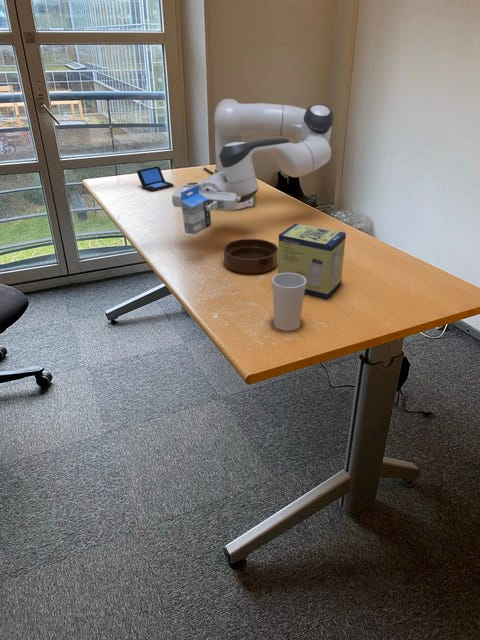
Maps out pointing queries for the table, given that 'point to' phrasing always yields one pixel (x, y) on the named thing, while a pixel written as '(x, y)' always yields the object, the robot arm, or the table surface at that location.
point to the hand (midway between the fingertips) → (198, 208)
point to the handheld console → (152, 179)
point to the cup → (288, 300)
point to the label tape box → (195, 211)
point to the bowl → (250, 255)
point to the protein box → (313, 257)
